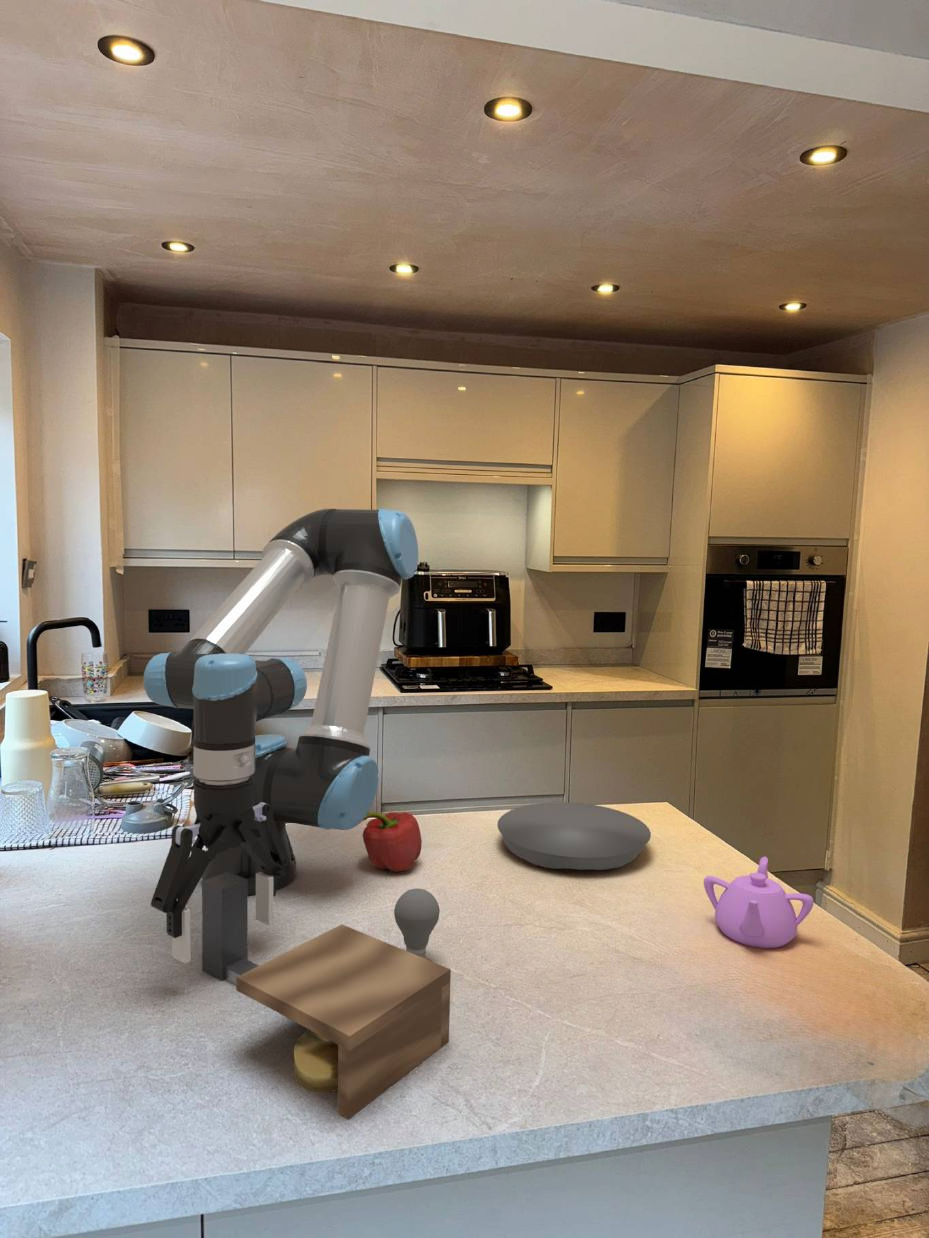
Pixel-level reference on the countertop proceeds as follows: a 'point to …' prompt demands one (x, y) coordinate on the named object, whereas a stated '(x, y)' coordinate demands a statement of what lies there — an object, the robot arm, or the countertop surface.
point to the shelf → (359, 1006)
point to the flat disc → (573, 835)
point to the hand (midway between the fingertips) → (224, 939)
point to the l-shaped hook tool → (225, 927)
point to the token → (316, 1062)
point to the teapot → (757, 909)
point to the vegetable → (392, 840)
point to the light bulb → (416, 919)
